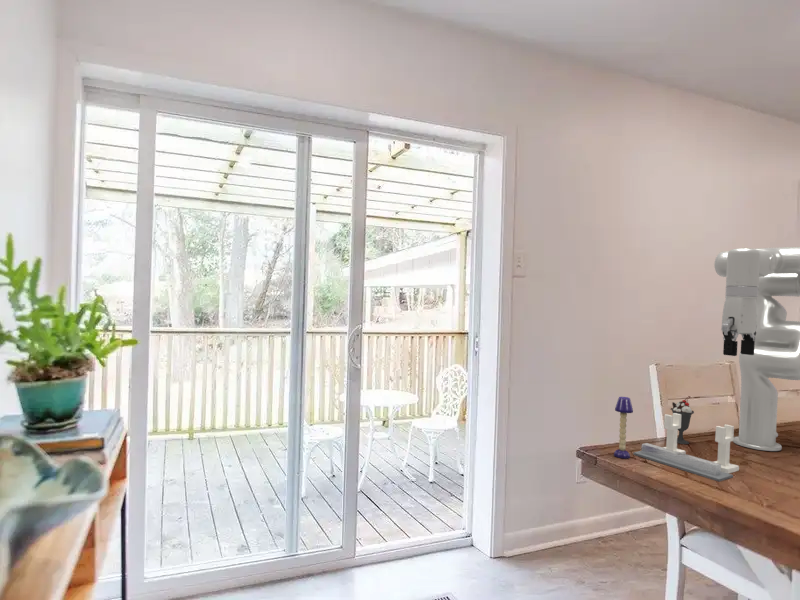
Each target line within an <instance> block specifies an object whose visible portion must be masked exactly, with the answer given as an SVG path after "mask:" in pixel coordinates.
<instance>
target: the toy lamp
mask: <svg viewBox="0 0 800 600" xmlns="http://www.w3.org/2000/svg"><path fill="white" fill-rule="evenodd" d="M614 408H615V409H614V410H615V411H616V412H618V413H619V422H620V423H619V430H618V431H619V435H618V438H619V440H618V442H619V445H618V448H619V449H618V448H617V449H616V450H615V451H614V453H613V456H614V457H616V458H618V459H630V458H631V455H630V453H629V452H628V450H626V449H627V447H626V443H627V441H626V439H627V435H626V434H627V429H626V428H627V420H628V419H627V416H628V414H633V412H634V410H633V405H632V401H631V398H630V397H628V396H618V399H617V402H616V405H615V406H614Z"/></svg>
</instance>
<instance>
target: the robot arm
mask: <svg viewBox="0 0 800 600" xmlns="http://www.w3.org/2000/svg"><path fill="white" fill-rule="evenodd" d="M713 265H714V266H713V267H714V271H715V272H716V274H717V275H718V276H719V277H723V278H724V277H725V278H726V279H725V294H724V295H725V300H724V303H723V310H722V317H721V329H720V331H721V333H722V335H723V336H722V340H723V350H722V352H723V353H722V354H723V355H724V356H730V357H737V356H738V363H739V369H740V370H739V371H740V382H741V383H740V401H739V402H740V405H739V421H738V422H739V423H738V424H739V428H738V436H734V437H733V441H732V442H733V443H734V444H735V445H738V446H741V447H745V448H748V449H753V450H758V451H765V452H779V451H782V448H783V447H782V445H781V444H780V443H779V442H778V443H777V442H776V441H777V438H778V436H779V432H777V417H778V416H777V415H778V401H779V400H778V399H779V397H778V396H779V393H778V390H777V388H776V386H775V385H774V383H773V382H772V381H771V380H770V379H769V378H771V379H781V380H787V381H789V380H790V381H800V321H798V320H796V321H795V320H787V316H788V312H787V309H786V308H785V307H784V305H782V304H781V303H780V302H779V301H778V300H776V299H775V298H773V297H800V246H795V247H794V246H790V247H786V246H785V247H763V248H748V247H747V248H745V247H742V248H734V249H730V250H728V251H721V252H719V253H718V254H717V255H716V257H715V259H714V263H713ZM739 335H741V338H742V339H741V340H740V351H739V354H738V341H737V338H738V337H739Z"/></svg>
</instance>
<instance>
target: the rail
mask: <svg viewBox="0 0 800 600" xmlns="http://www.w3.org/2000/svg"><path fill="white" fill-rule="evenodd" d="M663 447H664V446H662V447H661V446H659V445H655V444H653V443H648V442H645V443H642V444H641V450H640V451H641V453H644V454H647V455H650V456H654V457H657V458H660V459H663V460H667V461H670V462H673V463H676V464H680V465H683V466H686V467H689V468H693V469H696V470H699V471H702V472H706V473H709V474H712V475H715V476H716V475H719V474H721V464H718V463H715V461H711V460H708V459H704V458H701V457H697V456H694V455H690V454H683V453H680V452H676V451H673V450H669V449H666V448H663Z"/></svg>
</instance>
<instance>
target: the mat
mask: <svg viewBox="0 0 800 600" xmlns="http://www.w3.org/2000/svg"><path fill="white" fill-rule="evenodd" d="M641 451H642V450H639V451H634V452H633V453H632V455H633V456H636V457H640V458H643V459H645V460H649V461H652V462H656V463H657V464H658V463H659V464H662V465H666V466H667V467H671V468H675V469H677V468H678V469H677V470H681V471H684V472H686V473H690V474H694V475H696V476H700V477H703V478H706V479H708V480H713V481H716V482H722V481H726V480H729V479H733V478H734V475H733V474H732V473H729V474H728V473H725V472H722V471H721V474H719V475H716V476H715V475H712V474H709V473H706V472H702V471H699V470H696V469H693V468H689V467H686V466H683V465H680V464H676V463H673V462H670V461H667V460H663V459H660V458H657V457H654V456H650V455H647V454H644V453H641Z"/></svg>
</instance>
